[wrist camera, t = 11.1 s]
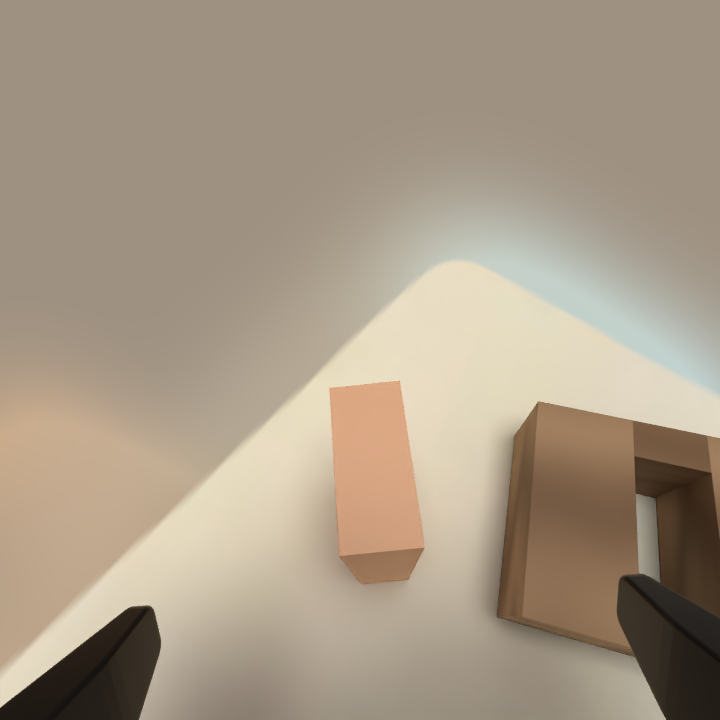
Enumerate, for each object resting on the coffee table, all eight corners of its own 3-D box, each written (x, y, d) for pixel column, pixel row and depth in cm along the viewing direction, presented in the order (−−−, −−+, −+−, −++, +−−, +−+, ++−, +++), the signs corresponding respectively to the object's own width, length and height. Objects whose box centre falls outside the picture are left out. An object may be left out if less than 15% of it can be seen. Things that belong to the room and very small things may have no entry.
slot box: (773, 697, 16) (876, 718, 13) (496, 616, 18) (522, 616, 15) (741, 484, 20) (814, 457, 17) (514, 435, 22) (538, 401, 18)
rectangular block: (408, 579, 19) (424, 547, 10) (361, 583, 19) (339, 556, 10) (395, 477, 21) (399, 380, 13) (353, 481, 21) (329, 388, 13)
